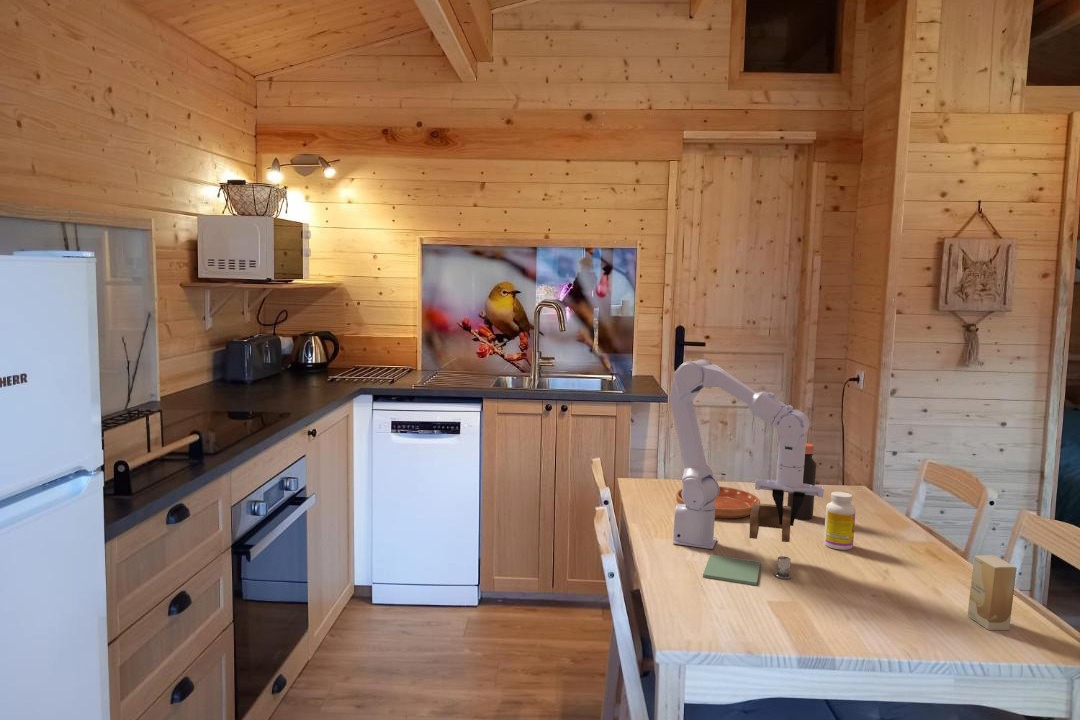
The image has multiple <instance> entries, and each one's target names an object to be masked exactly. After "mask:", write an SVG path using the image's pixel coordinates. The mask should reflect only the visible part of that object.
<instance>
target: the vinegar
mask: <svg viewBox="0 0 1080 720" xmlns="http://www.w3.org/2000/svg"><path fill="white" fill-rule="evenodd" d="M814 451H815V445H814V444H812V443H808V442H805V460H804V473H803V484H809V485H814V486H816V477H817V475H816V474H817V463H816V461H815V460H814V459H813V456H814ZM792 503H793V493H788V492H787V505H786V506H791V512H792ZM814 505H815V496H813V495H805V499H804V501H803V503H802V505H801V506H800V508H799V510H798V512H797V514H796V517H795V519H796V520H804V521H805V520H811V519H813V517H814V508H815V507H814Z"/></svg>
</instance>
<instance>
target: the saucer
mask: <svg viewBox="0 0 1080 720" xmlns="http://www.w3.org/2000/svg"><path fill="white" fill-rule="evenodd" d="M719 488H720V491H719V495H718V496H717V498H716V499H714V503H715V518H716V519H738V518H739V519H740V518H745V517H748V516H750V514H751V510H752V505H753V503H760V504H761V501H760V498H759V497H758V496H756V495H755V494H753V493H751V492H749V491H745V490H742V489H738V488H733V487H729V486H728V487H727V486H720V485H719ZM682 489H683V488H681V489H679V490H678V491H677V492H676V496H675V499H676V503H677V504H685V503H684V502H683V499H682V495H681V493H682Z"/></svg>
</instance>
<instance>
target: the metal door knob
mask: <svg viewBox="0 0 1080 720" xmlns="http://www.w3.org/2000/svg"><path fill="white" fill-rule="evenodd" d="M791 560H792V559H791V558H790V557H788V556H783V555H781V556H777V564H776V572H774V577H775V578H777V579H780V580H785V581H787V580H791V579H792V574H791Z"/></svg>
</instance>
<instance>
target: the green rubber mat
mask: <svg viewBox="0 0 1080 720" xmlns="http://www.w3.org/2000/svg"><path fill="white" fill-rule="evenodd" d="M760 569H761V561H757V560H752V559H750V560H749V559H744V558H737V557H730V556H722V555H715V554H710V555H709V558H708V560H707V563H706V565H705V567H704V570H703V574H702V578H707V579H713V580H720V581H727V582H732V583H740V584H744V585H751V586H757V584H758V579H759V575H760Z"/></svg>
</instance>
